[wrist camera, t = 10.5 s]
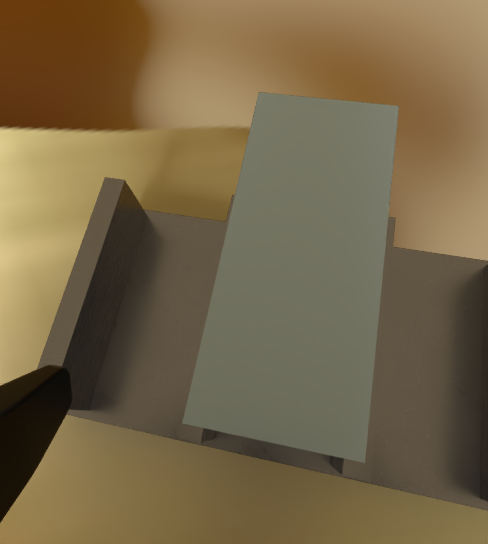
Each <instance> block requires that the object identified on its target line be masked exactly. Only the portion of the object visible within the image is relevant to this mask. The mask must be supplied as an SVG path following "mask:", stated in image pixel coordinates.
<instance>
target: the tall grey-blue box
mask: <svg viewBox="0 0 488 544" xmlns="http://www.w3.org/2000/svg"><path fill="white" fill-rule="evenodd" d="M398 110H399V106H394V105H384V104H374V103H364V102H353V101H344V100H334V99H323V98H313V97H304V96H294V95H283V94H274V93H263V92H259V94H258V98H257V102H256V106H255V111H254V115H253V119H252V124H251V128H250V132H249V137H248V141H247V145H246V150H245V154H244V158H243V163H242V167H241V171H240V176H239V180H238V184H237V189H236V193H235V197H234V202H233V206H232V210H231V215H230V219H229V223H228V228H227V232H226V236H225V241H224V245H223V249H222V254H221V258H220V262H219V267H218V271H217V275H216V280H215V284H214V288H213V293H212V297H211V301H210V305H209V310H208V314H207V318H206V323H205V327H204V331H203V336H202V340H201V344H200V349H199V353H198V357H197V362H196V366H195V370H194V375H193V379H192V383H191V388H190V392H189V396H188V401H187V405H186V409H185V414H184V418H183V422H182V423H183V424H187V425H192V426H197V427H201V428H206V429H211V430H215V431H220V432H224V433H229V434H234V435H238V436H243V437H247V438H252V439H257V440H261V441H266V442H271V443H275V444H280V445H284V446H289V447H294V448H298V449H303V450H307V451H312V452H317V453H321V454H326V455H330V456H335V457H340V458H344V459H349V460H354V461H358V462H363V463H365V456H366V446H367V435H368V425H369V414H370V404H371V393H372V383H373V372H374V362H375V351H376V341H377V330H378V320H379V309H380V299H381V289H382V278H383V268H384V257H385V247H386V236H387V226H388V215H389V205H390V194H391V183H392V173H393V163H394V152H395V142H396V131H397V121H398Z"/></svg>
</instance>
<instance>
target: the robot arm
mask: <svg viewBox="0 0 488 544" xmlns="http://www.w3.org/2000/svg"><path fill="white" fill-rule="evenodd" d="M71 403H72V387H71V379H70V372H69V370H68V369H67V368H66V367H62V366H57V365H53V364H49V365H46V366H44V367H41V368H39V369H37V370H35V371H32V372H30V373H28V374H26V375H23V376H21V377H19V378H16V379H14V380H12V381H10V382H7V383H5V384H3V385H1V386H0V522H1V521H2V520H3V518H4V517H5V515H6V514H7V512H8V511H9V509H10V508H11V506H12V505H13V503H14V502H15V500H16V499H17V498H18V496H19V495H20V493H21V492H22V490H23V489H24V487H25V486H26V484H27V483H28V481H29V480H30V478H31V477H32V475H33V474H34V472H35V470H36V468H37V467H38V465H39V463H40V462H41V460H42V458H43V456H44V454H45V452H46V451H47V449H48V447H49V445H50V443H51V441H52V440H53V438H54V436H55V434H56V432H57V431H58V429H59V427H60V425H61V423H62V421H63V420H64V418H65V416H66V414H67V412H68V410H69V408H70V406H71Z"/></svg>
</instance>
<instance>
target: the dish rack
mask: <svg viewBox="0 0 488 544" xmlns="http://www.w3.org/2000/svg"><path fill="white" fill-rule="evenodd" d="M234 197H235V195H232V199H231V203H230V207H229V211H228V216H227V220H226V222H223V221H216V220H210V219H203V218H196V217H189V216H183V215H176V214H169V213H162V212H156V211H149V210H143V208H142V206H141V205H140V203H139V202H138V200H137V199H136V197H135V195H134V194H133V192H132V191H131V189H130V188H129V186H128V184H127V183H126V181H125V180H121V179H114V178H107V177H105V179H104V182H103V184H102V187H101V190H100V193H99V196H98V199H97V201H96V204H95V207H94V210H93V213H92V215H91V218H90V221H89V224H88V227H87V230H86V232H85V235H84V238H83V241H82V244H81V246H80V249H79V252H78V255H77V258H76V261H75V263H74V266H73V269H72V272H71V275H70V277H69V280H68V283H67V286H66V289H65V291H64V294H63V297H62V300H61V303H60V306H59V308H58V311H57V314H56V317H55V320H54V322H53V325H52V328H51V331H50V334H49V337H48V339H47V342H46V345H45V348H44V351H43V353H42V356H41V359H40V362H39V365H38V368H37V369H39V368H41V367H44V366H46V365H49V364H53V365H57V366H62V367H66V368H67V369H68V370H69V372H70V379H71V387H72V403H71V406H70V408H69V410H68V412H67V415H71V416H76V417H80V418H85V419H89V420H93V421H98V422H102V423H106V424H111V425H115V426H120V427H124V428H128V429H133V430H137V431H142V432H146V433H150V434H155V435H159V436H164V437H168V438H172V439H177V440H181V441H186V442H190V443H194V444H199V445H203V446H208V447H212V448H216V449H221V450H225V451H229V452H234V453H238V454H243V455H247V456H251V457H256V458H260V459H265V460H269V461H273V462H278V463H282V464H287V465H291V466H295V467H300V468H304V469H309V470H313V471H317V472H322V473H326V474H331V475H335V476H339V477H344V478H348V479H353V480H357V481H361V482H366V483H370V484H374V485H379V486H383V487H388V488H392V489H396V490H401V491H405V492H410V493H414V494H418V495H423V496H427V497H432V498H436V499H440V500H445V501H449V502H454V503H458V504H462V505H467V506H471V507H476V508H480V509H484V510H488V261H485V260H478V259H472V258H465V257H458V256H451V255H445V254H438V253H430V252H425V251H418V250H411V249H404V248H398V247H393V239H394V229H395V219H396V218H393V217H388V226H387V236H386V247H385V257H384V268H383V278H382V289H381V299H380V309H379V320H378V330H377V341H376V351H375V362H374V372H373V383H372V393H371V404H370V414H369V425H368V435H367V446H366V456H365V463H363V462H358V461H354V460H349V459H344V458H340V457H335V456H330V455H326V454H321V453H317V452H312V451H307V450H303V449H298V448H294V447H289V446H284V445H280V444H275V443H271V442H266V441H261V440H257V439H252V438H247V437H243V436H238V435H234V434H229V433H224V432H220V431H215V430H211V429H206V428H201V427H197V426H192V425H187V424H183V423H182V422H183V418H184V414H185V409H186V405H187V401H188V396H189V392H190V388H191V383H192V379H193V375H194V370H195V366H196V362H197V357H198V353H199V349H200V344H201V340H202V336H203V331H204V327H205V323H206V318H207V314H208V310H209V305H210V301H211V297H212V293H213V288H214V284H215V280H216V275H217V271H218V267H219V262H220V258H221V254H222V249H223V245H224V241H225V236H226V232H227V228H228V223H229V219H230V215H231V210H232V206H233V202H234Z"/></svg>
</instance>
